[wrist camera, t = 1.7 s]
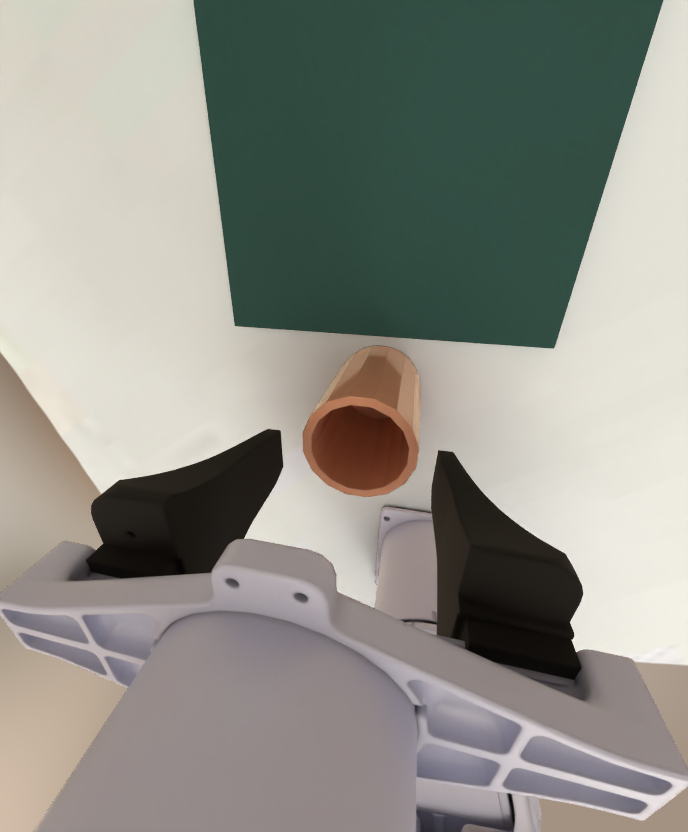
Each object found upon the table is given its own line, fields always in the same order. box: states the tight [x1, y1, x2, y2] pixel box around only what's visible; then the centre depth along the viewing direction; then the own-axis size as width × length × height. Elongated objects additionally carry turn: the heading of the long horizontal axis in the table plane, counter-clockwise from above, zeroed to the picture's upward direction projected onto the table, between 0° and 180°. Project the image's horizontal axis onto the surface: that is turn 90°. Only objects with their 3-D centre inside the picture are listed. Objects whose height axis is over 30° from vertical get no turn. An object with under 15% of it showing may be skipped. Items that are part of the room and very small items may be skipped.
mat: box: [194, 0, 663, 348], centre depth 17 cm, size 20×20×1 cm
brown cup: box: [303, 346, 420, 497], centre depth 20 cm, size 6×6×8 cm
